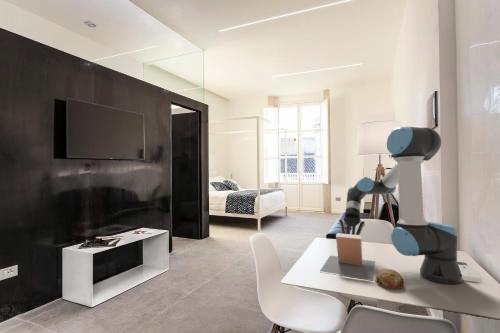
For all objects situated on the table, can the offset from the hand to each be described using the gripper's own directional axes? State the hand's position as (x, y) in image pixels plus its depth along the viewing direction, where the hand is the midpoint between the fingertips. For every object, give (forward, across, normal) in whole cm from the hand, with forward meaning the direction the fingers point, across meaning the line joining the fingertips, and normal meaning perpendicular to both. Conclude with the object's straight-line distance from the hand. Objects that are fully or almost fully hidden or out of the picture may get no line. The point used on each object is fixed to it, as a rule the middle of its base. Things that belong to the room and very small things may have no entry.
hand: (349, 249), depth 139 cm
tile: (+5, -1, -4) cm, 6 cm away
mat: (+8, 0, -2) cm, 9 cm away
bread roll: (+19, -18, +8) cm, 27 cm away
